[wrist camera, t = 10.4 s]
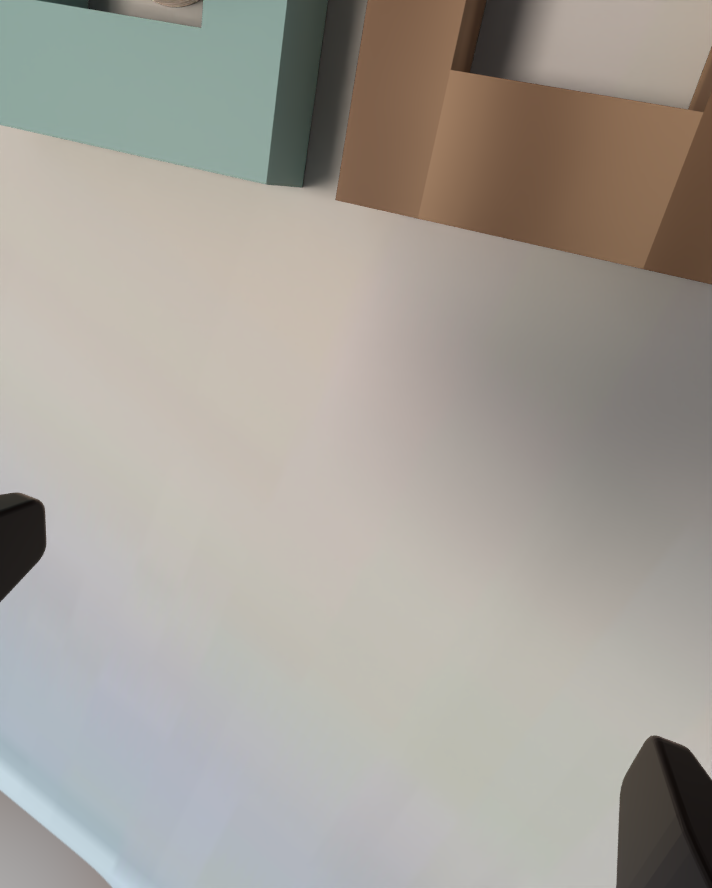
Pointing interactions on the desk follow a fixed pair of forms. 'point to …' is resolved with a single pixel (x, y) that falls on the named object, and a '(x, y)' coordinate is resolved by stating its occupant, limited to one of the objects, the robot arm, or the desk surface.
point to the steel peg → (175, 2)
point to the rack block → (169, 82)
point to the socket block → (523, 149)
